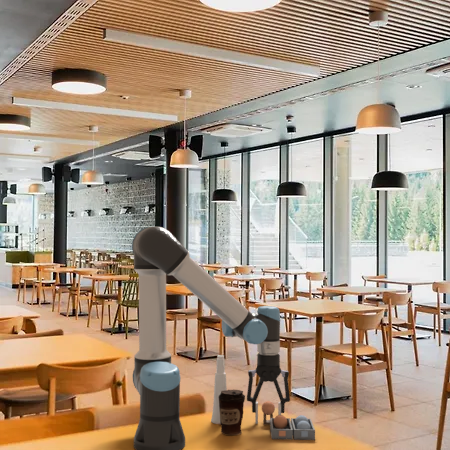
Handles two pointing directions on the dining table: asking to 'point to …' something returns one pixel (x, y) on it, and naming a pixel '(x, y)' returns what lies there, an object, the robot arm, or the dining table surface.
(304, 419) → the slate ball
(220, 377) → the cosmetic bottle
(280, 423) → the rust ball
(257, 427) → the dining table surface
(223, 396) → the coffee cup
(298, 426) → the slate ball
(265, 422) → the ball stand
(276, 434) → the grey sorting trays
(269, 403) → the orange ball
